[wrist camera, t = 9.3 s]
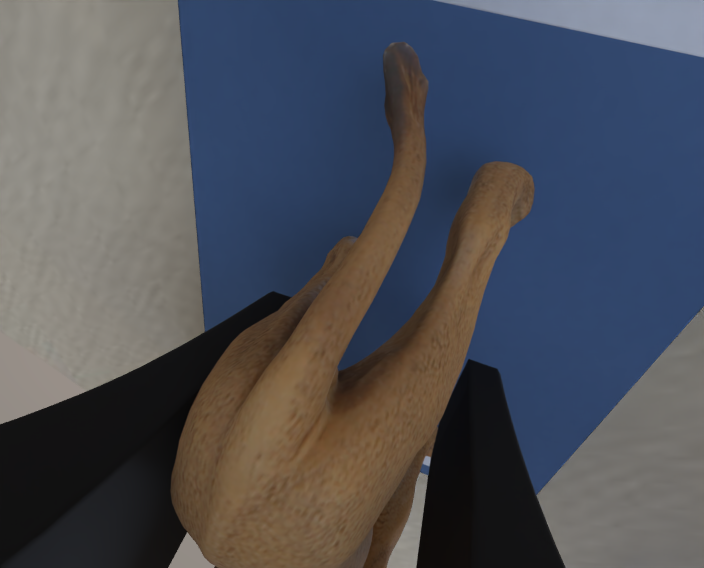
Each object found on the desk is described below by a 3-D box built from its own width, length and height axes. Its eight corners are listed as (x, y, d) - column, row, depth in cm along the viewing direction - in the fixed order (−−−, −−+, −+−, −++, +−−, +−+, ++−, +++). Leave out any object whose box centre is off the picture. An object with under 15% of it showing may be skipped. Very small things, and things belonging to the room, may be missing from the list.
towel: (521, 497, 16) (521, 513, 16) (217, 378, 18) (208, 389, 18) (951, -10, 6) (986, -9, 6) (184, -142, 8) (163, -149, 8)
